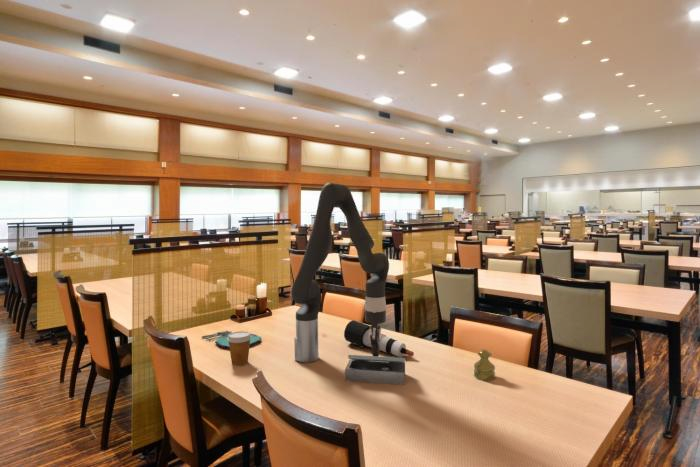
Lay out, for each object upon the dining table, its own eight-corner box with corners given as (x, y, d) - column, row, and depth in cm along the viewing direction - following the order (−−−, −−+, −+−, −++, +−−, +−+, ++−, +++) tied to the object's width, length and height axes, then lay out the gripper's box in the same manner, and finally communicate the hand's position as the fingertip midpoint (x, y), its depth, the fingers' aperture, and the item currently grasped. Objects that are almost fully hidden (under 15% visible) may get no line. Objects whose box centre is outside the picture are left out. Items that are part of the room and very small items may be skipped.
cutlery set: (231, 354, 174) (231, 349, 174) (197, 340, 194) (197, 335, 194) (268, 342, 189) (268, 337, 189) (233, 330, 209) (232, 326, 209)
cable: (408, 371, 164) (404, 353, 159) (347, 345, 185) (341, 329, 181) (420, 354, 170) (416, 337, 165) (359, 331, 192) (355, 316, 187)
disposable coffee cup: (256, 360, 165) (256, 332, 164) (241, 369, 156) (240, 339, 155) (238, 357, 169) (237, 329, 168) (222, 365, 160) (221, 336, 159)
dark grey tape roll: (377, 380, 145) (377, 370, 145) (379, 374, 150) (379, 365, 150) (390, 381, 144) (390, 371, 143) (392, 376, 148) (392, 366, 148)
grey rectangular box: (345, 380, 145) (345, 368, 144) (349, 370, 154) (349, 359, 154) (403, 384, 141) (403, 372, 141) (405, 374, 150) (405, 362, 150)
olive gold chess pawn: (494, 374, 149) (495, 348, 149) (495, 382, 142) (495, 354, 142) (474, 371, 152) (474, 346, 151) (473, 379, 145) (473, 352, 144)
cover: (348, 358, 144) (348, 353, 144) (352, 359, 154) (353, 355, 154) (403, 361, 140) (403, 356, 141) (405, 362, 150) (405, 358, 151)
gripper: (367, 304, 150) (367, 349, 151) (362, 312, 137) (362, 361, 138) (387, 304, 149) (387, 350, 150) (384, 313, 136) (384, 363, 137)
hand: (375, 355), depth 144 cm, fingers closed
